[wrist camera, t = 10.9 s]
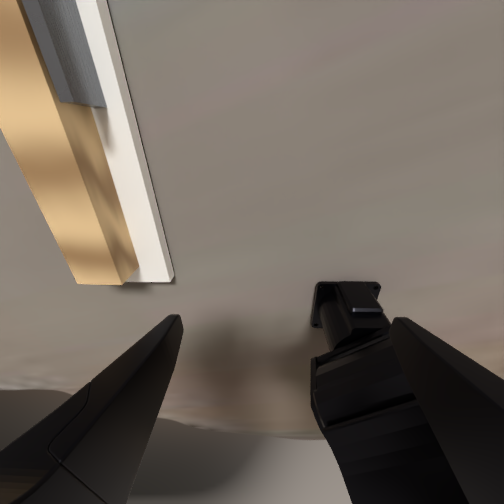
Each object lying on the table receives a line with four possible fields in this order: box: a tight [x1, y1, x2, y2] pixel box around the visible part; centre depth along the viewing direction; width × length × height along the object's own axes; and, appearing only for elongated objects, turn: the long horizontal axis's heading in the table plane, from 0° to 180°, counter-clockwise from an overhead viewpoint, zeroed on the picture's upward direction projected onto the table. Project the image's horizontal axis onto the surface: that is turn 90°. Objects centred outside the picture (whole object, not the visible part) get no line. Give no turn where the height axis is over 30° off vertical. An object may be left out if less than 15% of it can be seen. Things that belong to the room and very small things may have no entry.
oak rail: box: [0, 0, 139, 285], centre depth 16 cm, size 18×4×3 cm, turn 0°
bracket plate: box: [22, 0, 174, 282], centre depth 16 cm, size 22×9×4 cm, turn 2°
